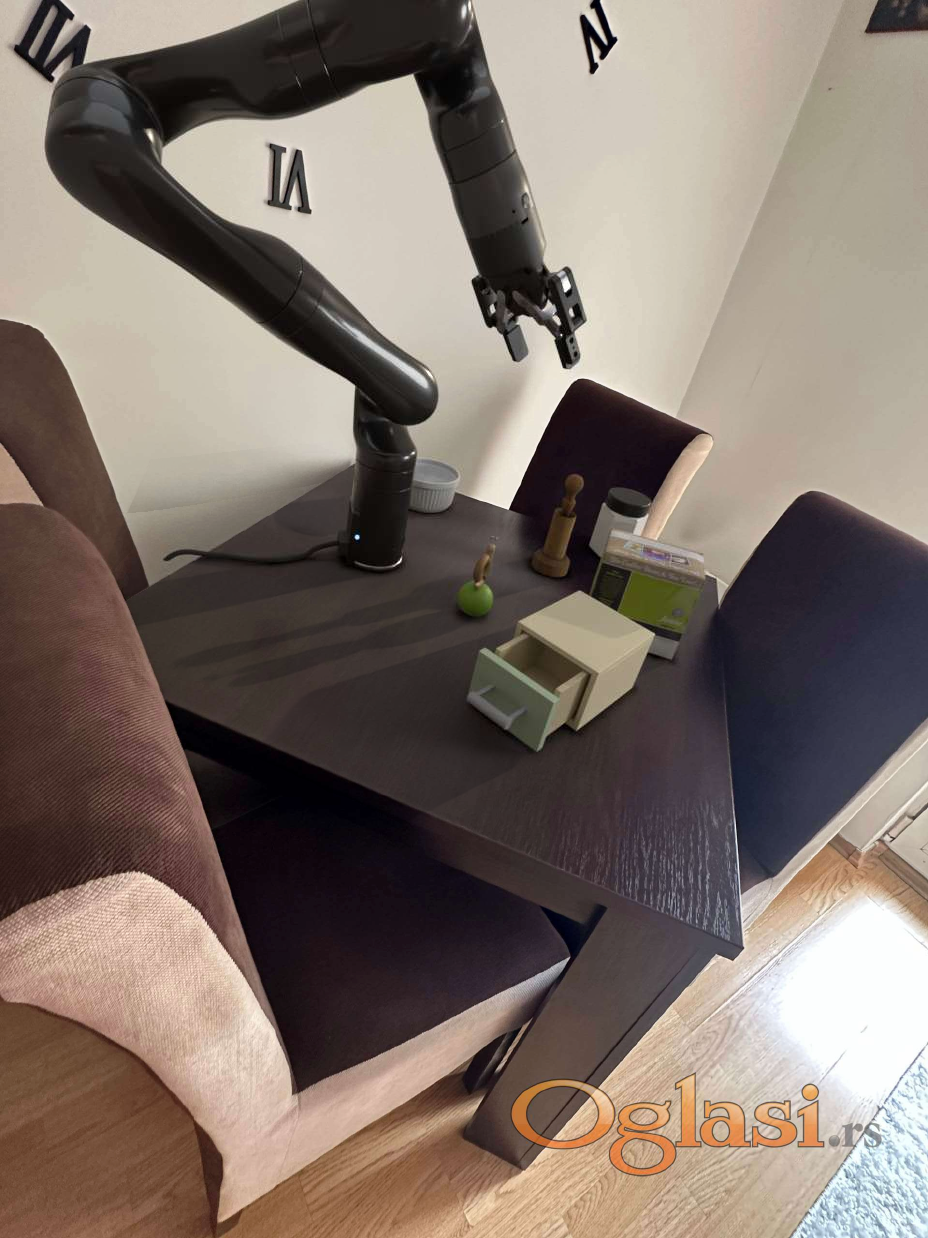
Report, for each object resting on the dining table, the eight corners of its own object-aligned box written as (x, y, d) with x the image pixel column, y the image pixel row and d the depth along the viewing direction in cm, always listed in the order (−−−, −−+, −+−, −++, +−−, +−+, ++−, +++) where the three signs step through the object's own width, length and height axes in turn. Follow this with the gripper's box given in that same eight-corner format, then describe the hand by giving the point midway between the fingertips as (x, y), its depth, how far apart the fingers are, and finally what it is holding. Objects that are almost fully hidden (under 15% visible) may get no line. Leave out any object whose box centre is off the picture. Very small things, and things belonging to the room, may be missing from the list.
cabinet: (576, 731, 83) (598, 673, 78) (501, 678, 89) (518, 621, 84) (632, 687, 93) (655, 633, 87) (561, 643, 99) (579, 590, 94)
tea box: (672, 629, 108) (706, 552, 100) (671, 662, 100) (708, 580, 92) (584, 602, 110) (611, 524, 102) (576, 632, 102) (605, 549, 94)
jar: (603, 537, 134) (622, 483, 128) (638, 554, 130) (659, 499, 124) (581, 548, 128) (600, 492, 121) (617, 566, 124) (638, 509, 118)
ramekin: (382, 506, 127) (386, 472, 123) (398, 482, 138) (403, 451, 134) (447, 522, 126) (454, 489, 122) (459, 497, 137) (465, 466, 133)
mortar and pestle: (566, 563, 121) (594, 473, 111) (567, 580, 116) (597, 487, 106) (531, 556, 121) (557, 464, 111) (531, 572, 115) (557, 478, 106)
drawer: (514, 769, 74) (530, 718, 70) (443, 713, 80) (454, 663, 75) (596, 706, 86) (614, 660, 82) (529, 662, 92) (543, 616, 87)
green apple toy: (495, 607, 104) (512, 541, 97) (483, 627, 98) (500, 558, 92) (463, 596, 104) (478, 530, 98) (449, 615, 99) (464, 546, 93)
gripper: (430, 237, 69) (485, 373, 80) (519, 230, 59) (568, 387, 70) (479, 201, 71) (527, 339, 82) (573, 189, 61) (613, 348, 72)
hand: (546, 361), depth 76 cm, fingers open, 8 cm apart
